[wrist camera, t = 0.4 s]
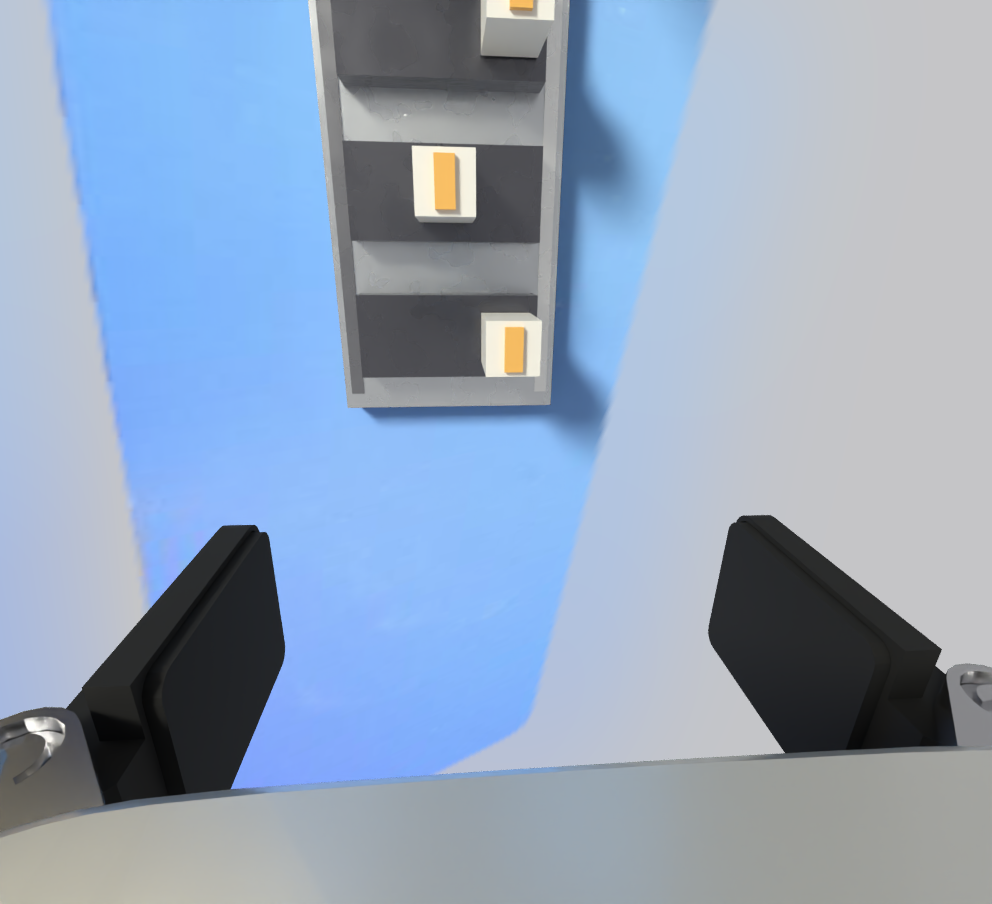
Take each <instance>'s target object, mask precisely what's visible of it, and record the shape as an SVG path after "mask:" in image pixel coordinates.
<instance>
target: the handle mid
mask: <svg viewBox="0 0 992 904" xmlns="http://www.w3.org/2000/svg"><path fill="white" fill-rule="evenodd" d="M412 163H413V186H414V210H415V217H416V218H417V219H418V221H419V222H431V223H473V221H474V220H475V218H476V147H442V146H412Z"/></svg>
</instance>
